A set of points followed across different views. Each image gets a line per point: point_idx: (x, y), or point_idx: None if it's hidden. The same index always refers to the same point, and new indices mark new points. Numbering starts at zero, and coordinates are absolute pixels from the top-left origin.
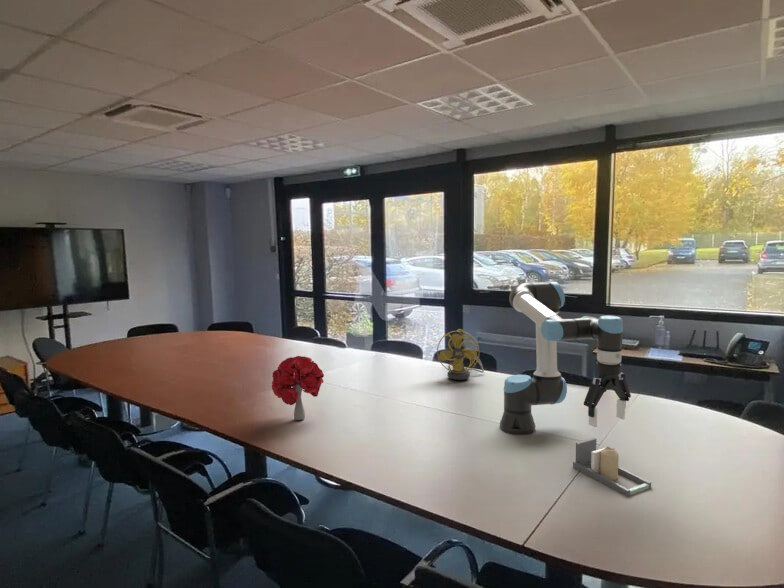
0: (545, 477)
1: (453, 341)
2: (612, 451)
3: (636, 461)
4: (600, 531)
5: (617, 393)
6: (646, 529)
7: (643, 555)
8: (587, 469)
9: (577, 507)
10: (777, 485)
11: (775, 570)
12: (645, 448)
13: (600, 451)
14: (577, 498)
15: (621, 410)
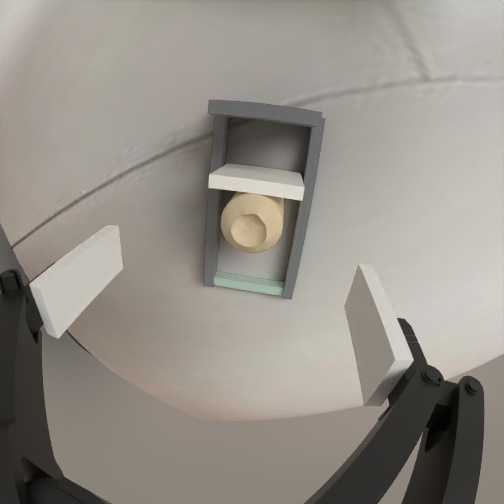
0: (116, 114)
1: None
2: (241, 245)
3: (407, 204)
4: None
5: (363, 444)
6: (151, 333)
7: (109, 344)
8: (210, 162)
9: None
10: None
11: (219, 420)
12: (485, 188)
13: (242, 191)
14: (113, 218)
15: (358, 332)
